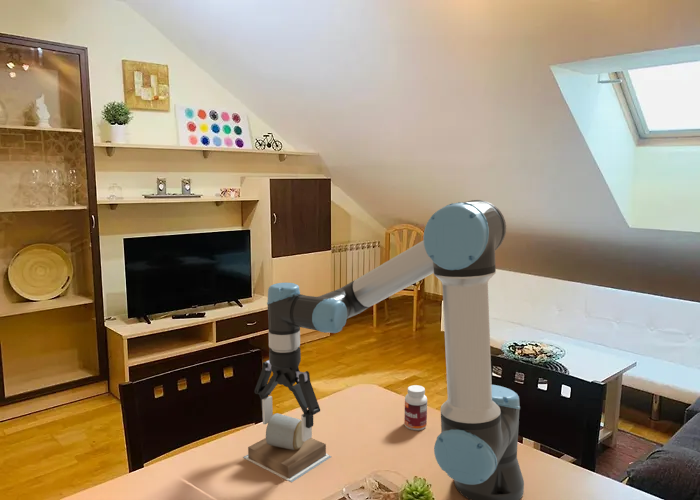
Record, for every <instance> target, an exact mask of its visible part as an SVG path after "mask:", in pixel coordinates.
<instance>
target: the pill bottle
mask: <svg viewBox="0 0 700 500" xmlns="http://www.w3.org/2000/svg"><path fill="white" fill-rule="evenodd" d="M425 393H426V389H425V387H424V386H422V385H417V384H414V385H410V386H408V387H407V394H406V395H405V397H404V419H403V420H404V422H403V423H404V427H405V428H407V429H409V430H412V431H422V430H424V429H426V428H427V426H428V425H427V423H428V422H427V420H428V398H427V395H425Z"/></svg>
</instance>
